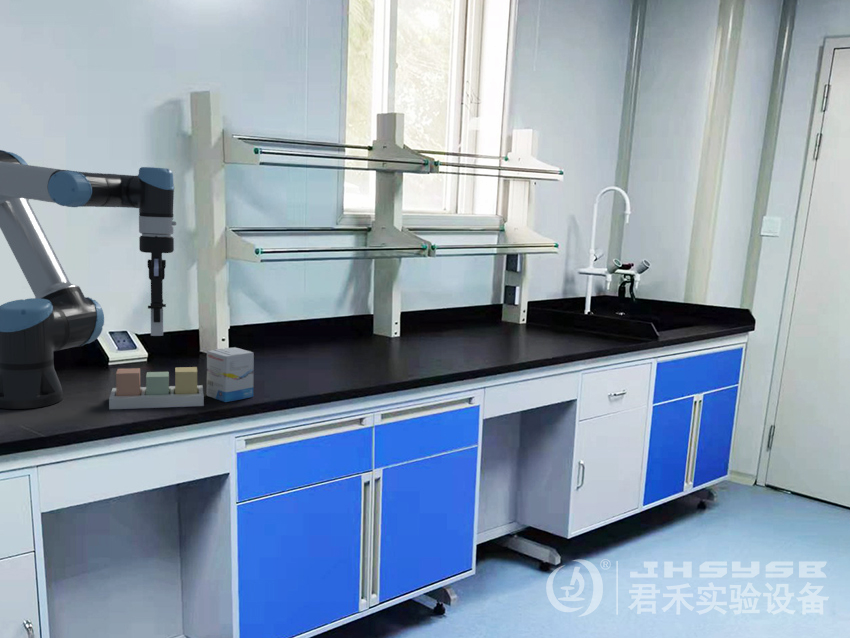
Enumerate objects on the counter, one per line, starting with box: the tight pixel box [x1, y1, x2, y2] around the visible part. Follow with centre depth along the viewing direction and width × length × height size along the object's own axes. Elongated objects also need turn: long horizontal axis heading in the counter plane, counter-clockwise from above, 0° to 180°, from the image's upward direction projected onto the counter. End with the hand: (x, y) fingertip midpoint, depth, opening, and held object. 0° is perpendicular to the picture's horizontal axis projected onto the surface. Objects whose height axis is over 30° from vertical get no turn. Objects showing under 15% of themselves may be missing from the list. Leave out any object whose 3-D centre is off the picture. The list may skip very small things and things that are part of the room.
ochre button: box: [174, 366, 198, 394], centre depth 181 cm, size 5×5×6 cm
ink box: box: [206, 346, 255, 403], centre depth 187 cm, size 9×8×12 cm
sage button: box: [145, 371, 170, 395], centre depth 179 cm, size 5×5×6 cm
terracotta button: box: [115, 367, 141, 396], centre depth 177 cm, size 5×5×6 cm
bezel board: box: [108, 384, 205, 410], centre depth 179 cm, size 21×10×2 cm, turn 108°
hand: (157, 335), depth 177 cm, fingers closed
